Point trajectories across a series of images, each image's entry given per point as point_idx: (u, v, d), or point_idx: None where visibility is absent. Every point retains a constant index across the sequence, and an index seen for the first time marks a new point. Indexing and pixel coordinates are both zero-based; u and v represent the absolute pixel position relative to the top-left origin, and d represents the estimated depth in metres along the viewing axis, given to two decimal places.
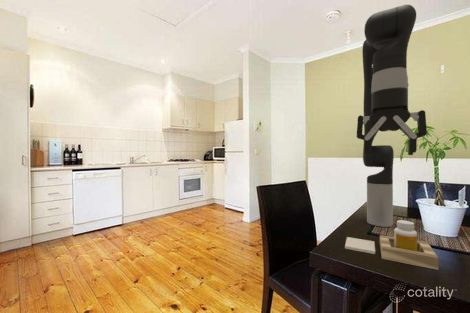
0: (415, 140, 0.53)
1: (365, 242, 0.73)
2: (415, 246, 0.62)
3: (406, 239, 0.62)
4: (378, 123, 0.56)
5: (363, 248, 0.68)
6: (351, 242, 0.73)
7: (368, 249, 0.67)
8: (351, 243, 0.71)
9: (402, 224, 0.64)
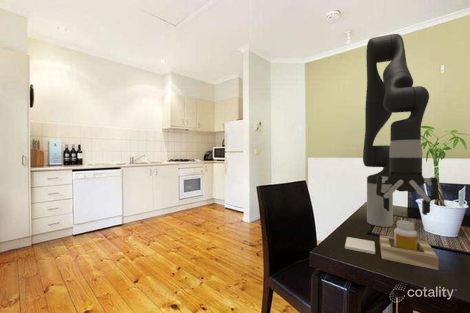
0: (429, 202, 0.61)
1: (365, 242, 0.73)
2: (415, 246, 0.62)
3: (406, 239, 0.62)
4: (396, 185, 0.64)
5: (363, 248, 0.68)
6: (351, 242, 0.73)
7: (368, 249, 0.67)
8: (351, 243, 0.71)
9: (402, 224, 0.64)
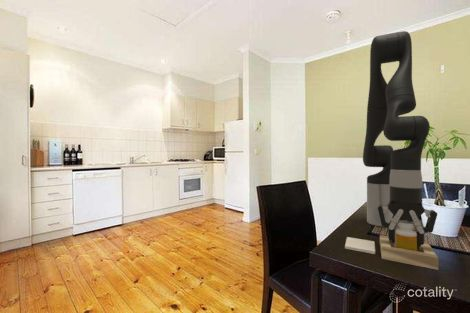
0: (423, 234, 0.62)
1: (365, 242, 0.73)
2: (415, 246, 0.62)
3: (406, 239, 0.62)
4: (397, 215, 0.64)
5: (363, 248, 0.68)
6: (351, 242, 0.73)
7: (368, 249, 0.67)
8: (351, 243, 0.71)
9: (402, 224, 0.64)
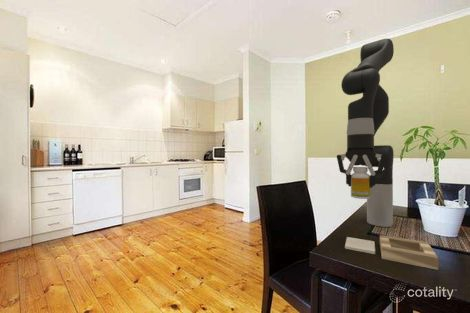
0: (374, 176, 0.69)
1: (365, 242, 0.73)
2: (367, 187, 0.69)
3: (359, 181, 0.69)
4: (352, 160, 0.71)
5: (363, 248, 0.68)
6: (351, 242, 0.73)
7: (368, 249, 0.67)
8: (351, 243, 0.71)
9: (357, 168, 0.70)
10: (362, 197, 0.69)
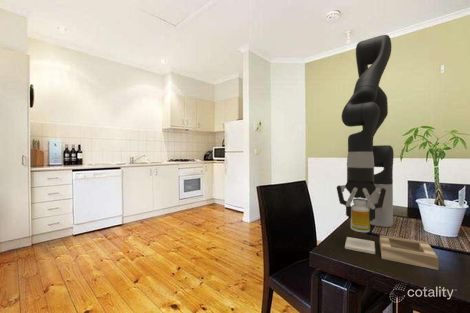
0: (374, 210, 0.69)
1: (365, 242, 0.73)
2: (367, 220, 0.69)
3: (359, 214, 0.69)
4: (352, 193, 0.71)
5: (363, 248, 0.68)
6: (351, 242, 0.73)
7: (368, 249, 0.67)
8: (351, 243, 0.71)
9: (356, 201, 0.70)
10: (362, 231, 0.69)
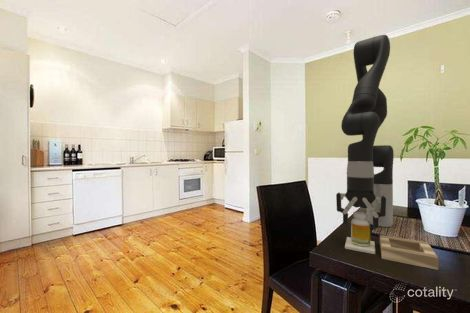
0: (377, 218, 0.68)
1: None
2: (367, 234, 0.69)
3: (359, 228, 0.69)
4: (351, 201, 0.71)
5: (363, 248, 0.68)
6: (351, 242, 0.73)
7: (368, 249, 0.67)
8: (351, 243, 0.71)
9: (357, 214, 0.71)
10: (362, 244, 0.69)
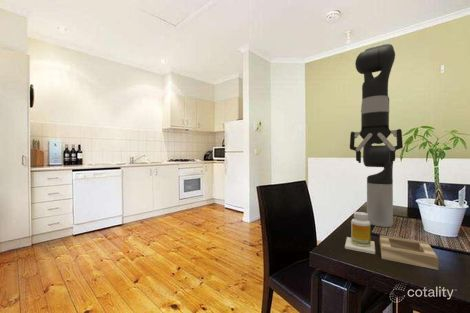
0: (394, 152, 0.69)
1: None
2: (368, 234, 0.69)
3: (359, 228, 0.69)
4: (366, 138, 0.71)
5: (363, 248, 0.68)
6: (351, 242, 0.73)
7: (368, 249, 0.67)
8: (351, 243, 0.71)
9: (357, 215, 0.70)
10: (362, 245, 0.69)
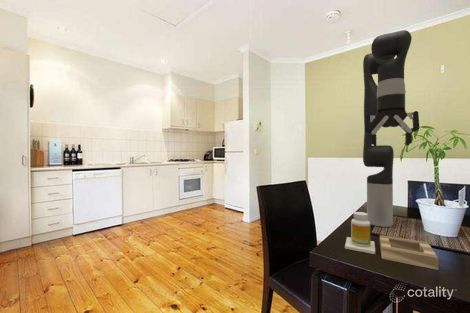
0: (410, 134, 0.69)
1: None
2: (368, 235, 0.69)
3: (359, 228, 0.69)
4: (382, 121, 0.72)
5: (363, 248, 0.68)
6: (351, 242, 0.73)
7: (368, 249, 0.67)
8: (351, 243, 0.71)
9: (357, 215, 0.70)
10: (362, 245, 0.69)
